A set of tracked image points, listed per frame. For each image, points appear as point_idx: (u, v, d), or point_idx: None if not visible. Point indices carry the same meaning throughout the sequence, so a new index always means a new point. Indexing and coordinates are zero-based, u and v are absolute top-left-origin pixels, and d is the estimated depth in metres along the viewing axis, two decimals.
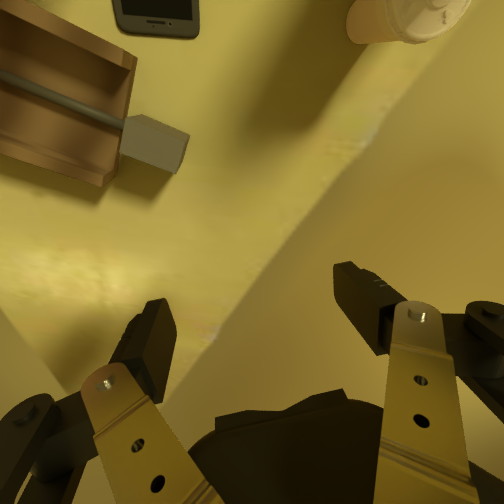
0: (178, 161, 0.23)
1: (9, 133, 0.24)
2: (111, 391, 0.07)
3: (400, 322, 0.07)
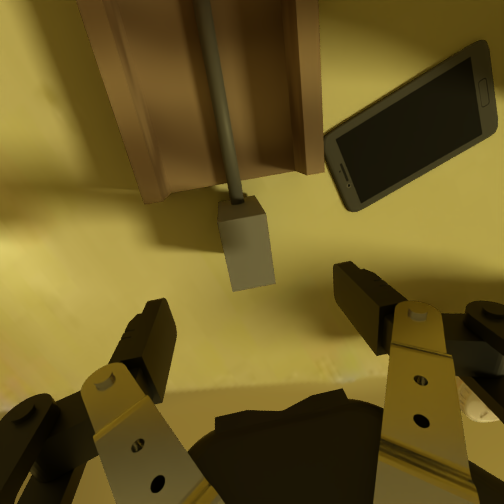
0: (249, 287, 0.17)
1: (126, 42, 0.15)
2: (112, 391, 0.07)
3: (400, 322, 0.07)
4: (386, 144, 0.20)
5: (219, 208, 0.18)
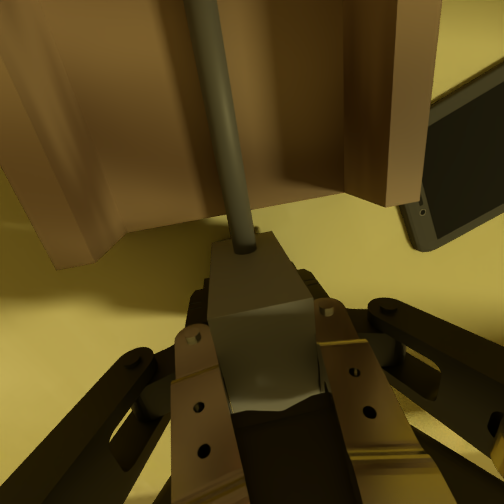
0: None
1: None
2: (195, 348, 0.08)
3: None
4: (490, 146, 0.12)
5: (212, 262, 0.10)
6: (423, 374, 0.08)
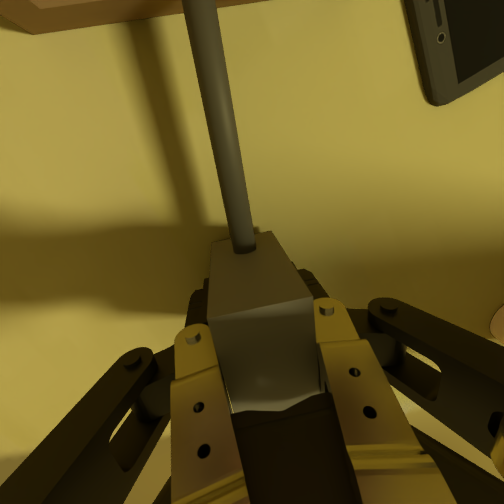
0: None
1: None
2: (195, 348, 0.08)
3: None
4: None
5: (212, 262, 0.10)
6: (423, 374, 0.08)
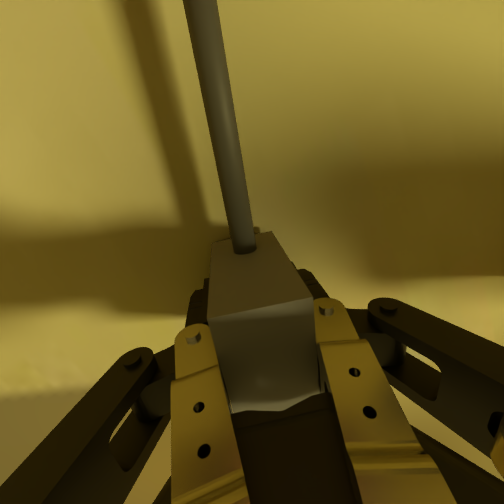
0: None
1: None
2: (195, 348, 0.08)
3: None
4: None
5: (212, 262, 0.10)
6: (423, 374, 0.08)
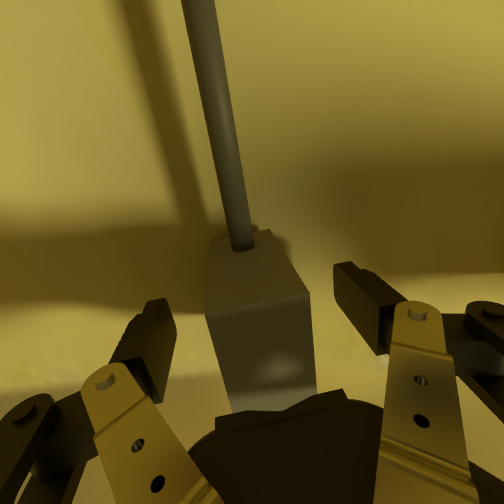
0: None
1: None
2: (111, 391, 0.07)
3: (400, 322, 0.07)
4: None
5: (210, 260, 0.10)
6: None
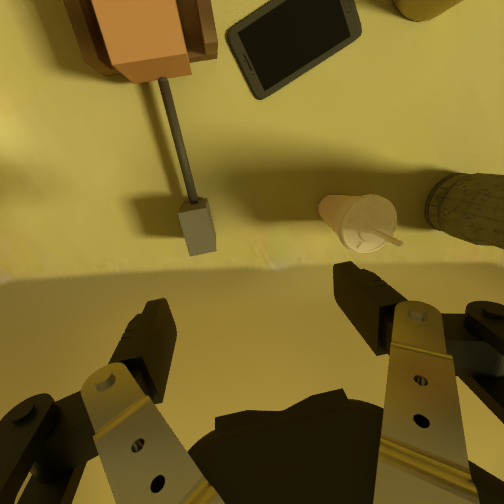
0: (200, 253, 0.28)
1: None
2: (111, 392, 0.07)
3: (400, 322, 0.07)
4: (277, 39, 0.27)
5: (182, 206, 0.30)
6: None
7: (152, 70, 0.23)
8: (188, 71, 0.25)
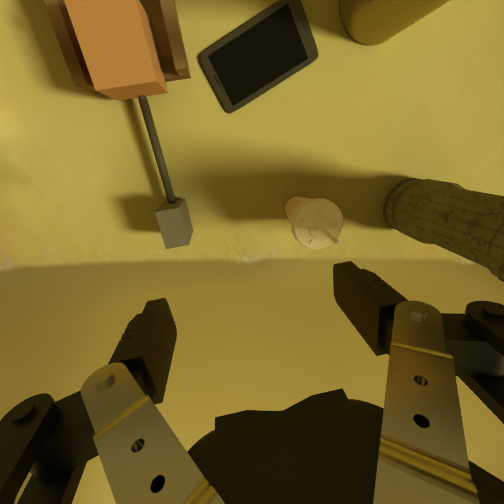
0: (175, 246, 0.33)
1: None
2: (111, 391, 0.07)
3: (400, 322, 0.07)
4: (243, 62, 0.31)
5: (161, 205, 0.34)
6: None
7: (130, 91, 0.27)
8: (163, 91, 0.29)
